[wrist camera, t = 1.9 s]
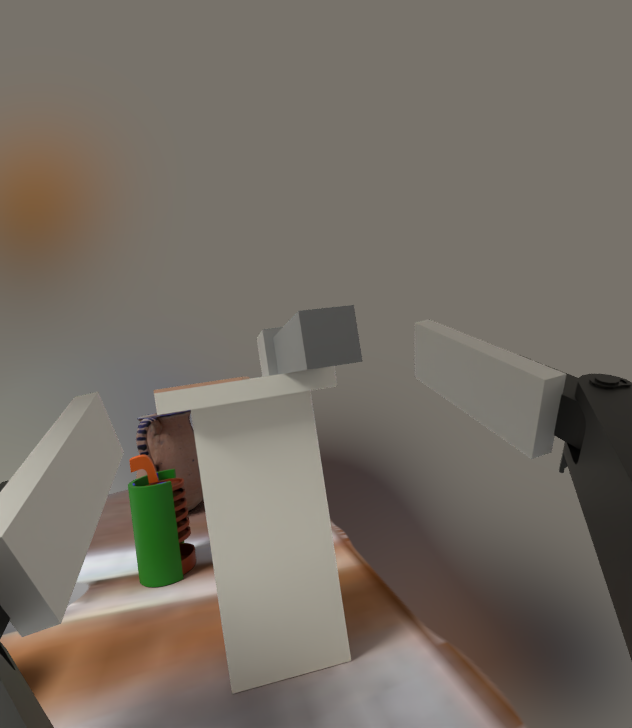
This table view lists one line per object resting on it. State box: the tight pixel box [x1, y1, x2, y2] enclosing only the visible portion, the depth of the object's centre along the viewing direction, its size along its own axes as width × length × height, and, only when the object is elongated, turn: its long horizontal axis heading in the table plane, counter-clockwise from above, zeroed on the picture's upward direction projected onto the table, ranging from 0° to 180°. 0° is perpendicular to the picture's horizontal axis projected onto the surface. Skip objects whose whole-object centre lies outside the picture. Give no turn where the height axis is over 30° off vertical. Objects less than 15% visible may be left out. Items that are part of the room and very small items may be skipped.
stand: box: [154, 366, 351, 694], centre depth 38 cm, size 17×12×30 cm
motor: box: [128, 455, 196, 587], centre depth 58 cm, size 10×9×20 cm
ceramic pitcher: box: [136, 410, 203, 511], centre depth 85 cm, size 18×21×25 cm
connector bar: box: [257, 305, 362, 377], centre depth 34 cm, size 6×22×5 cm, turn 14°
